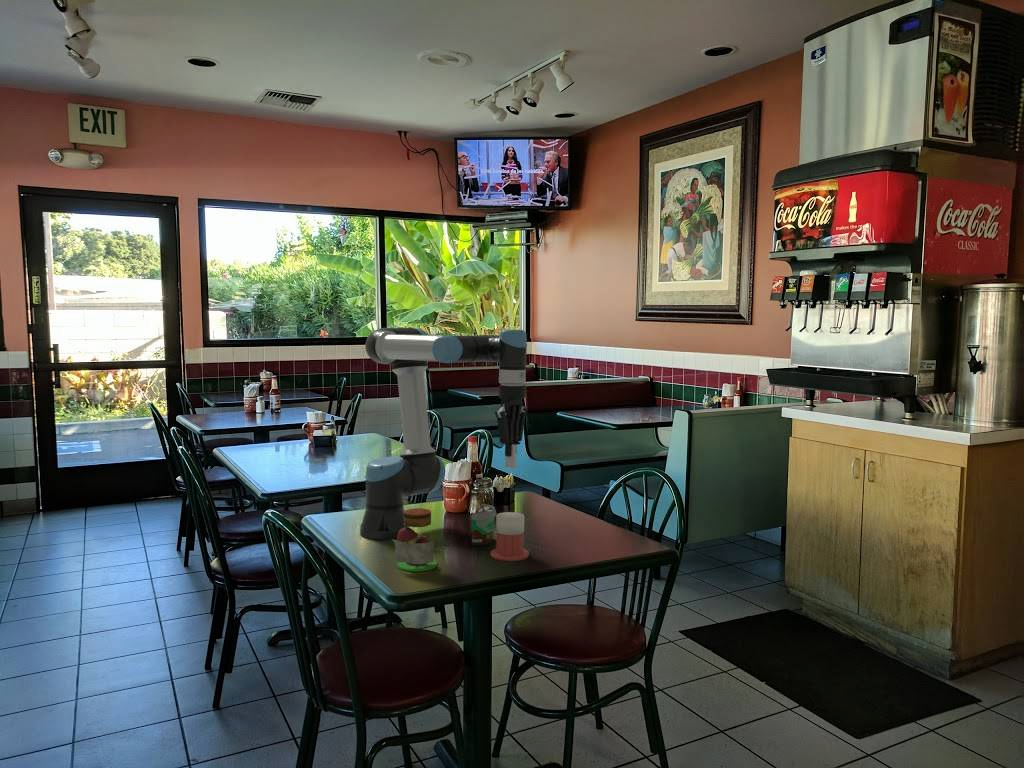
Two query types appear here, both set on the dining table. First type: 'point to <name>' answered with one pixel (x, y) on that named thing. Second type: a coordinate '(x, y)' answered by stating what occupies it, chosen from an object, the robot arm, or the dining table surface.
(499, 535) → the red flanged cylinder
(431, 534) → the dining table surface
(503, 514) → the grey rounded piece
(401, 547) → the translucent plastic tub
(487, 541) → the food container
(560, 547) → the dining table surface
